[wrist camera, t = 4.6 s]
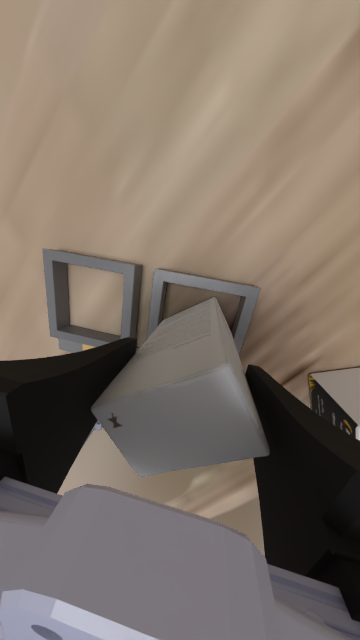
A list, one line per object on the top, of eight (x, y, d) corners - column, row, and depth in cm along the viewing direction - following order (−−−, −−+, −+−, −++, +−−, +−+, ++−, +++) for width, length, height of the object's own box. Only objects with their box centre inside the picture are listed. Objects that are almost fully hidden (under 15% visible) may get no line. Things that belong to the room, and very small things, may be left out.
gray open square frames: (224, 384, 21) (226, 396, 19) (64, 346, 23) (51, 353, 22) (254, 285, 17) (260, 288, 16) (58, 250, 19) (42, 248, 18)
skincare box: (180, 352, 19) (136, 481, 8) (162, 319, 18) (83, 408, 7) (233, 333, 17) (276, 461, 6) (216, 294, 16) (228, 360, 5)
